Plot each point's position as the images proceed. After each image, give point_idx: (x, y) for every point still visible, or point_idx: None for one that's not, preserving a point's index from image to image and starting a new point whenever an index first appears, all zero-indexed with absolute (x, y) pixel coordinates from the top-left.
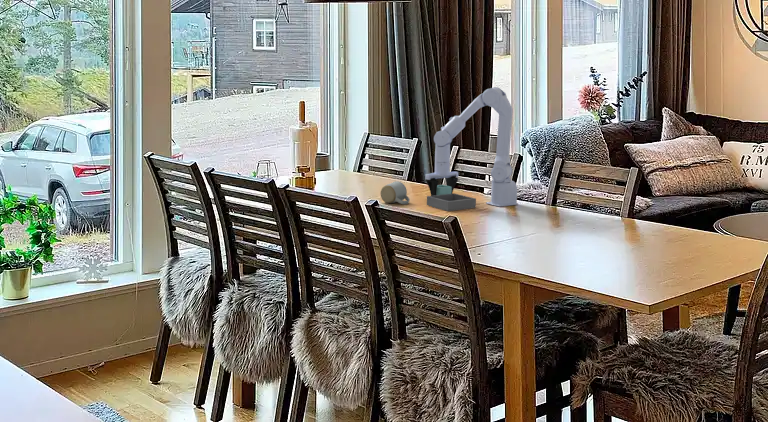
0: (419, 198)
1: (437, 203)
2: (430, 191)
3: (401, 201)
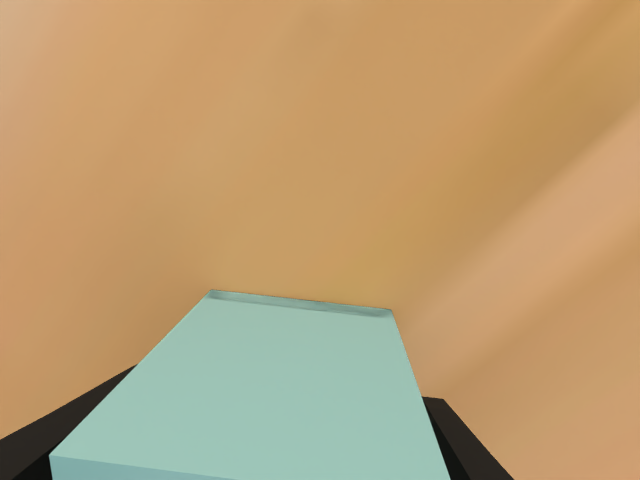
0: (129, 106)
1: None
2: (52, 420)
3: None
